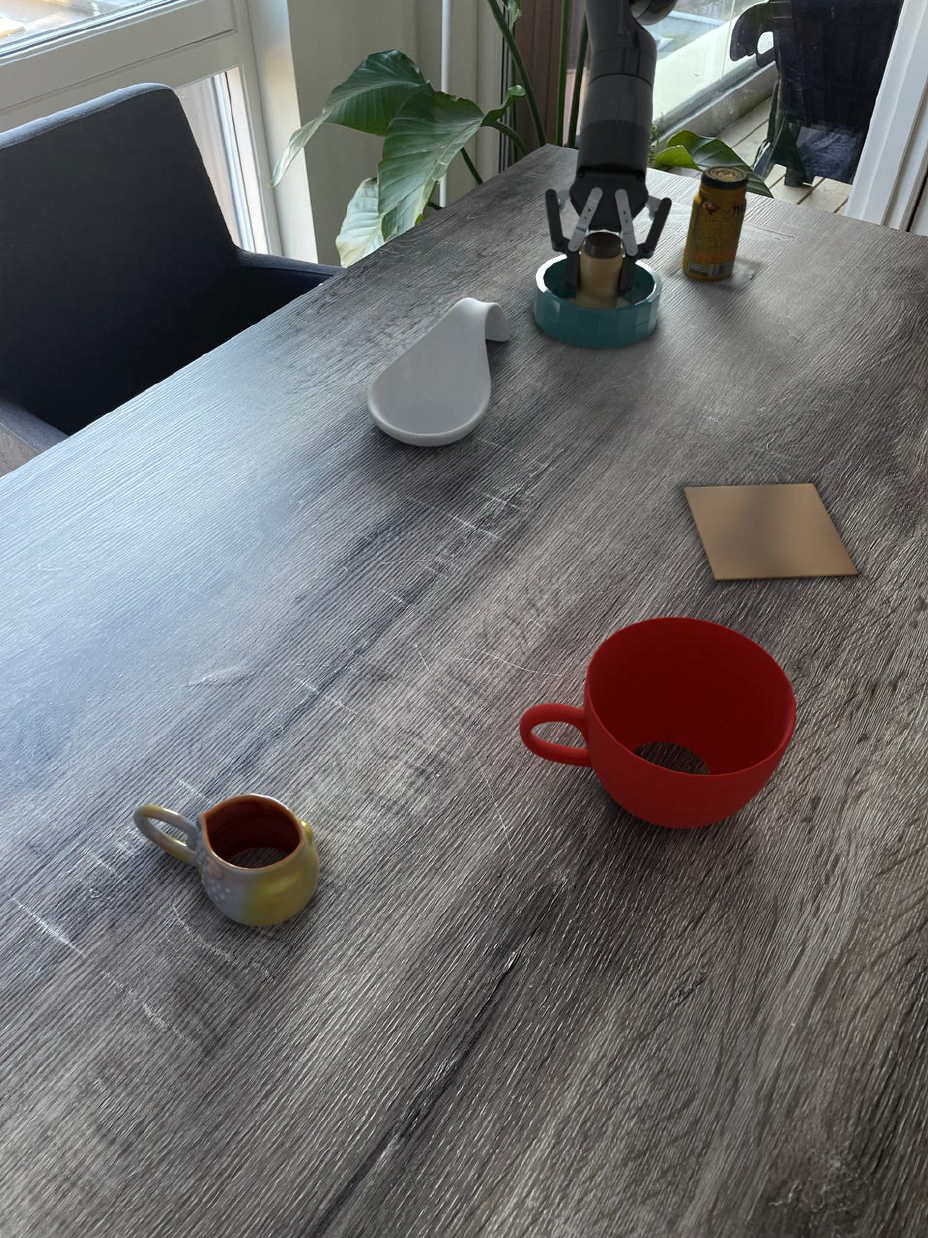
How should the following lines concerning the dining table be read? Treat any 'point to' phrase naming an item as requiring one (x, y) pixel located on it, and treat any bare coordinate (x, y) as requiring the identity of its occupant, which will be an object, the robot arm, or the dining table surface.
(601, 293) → the pepper mill
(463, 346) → the spoon rest
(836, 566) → the plate
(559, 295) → the pot
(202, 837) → the mug
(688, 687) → the ceramic cup
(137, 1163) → the dining table surface
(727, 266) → the condiment
